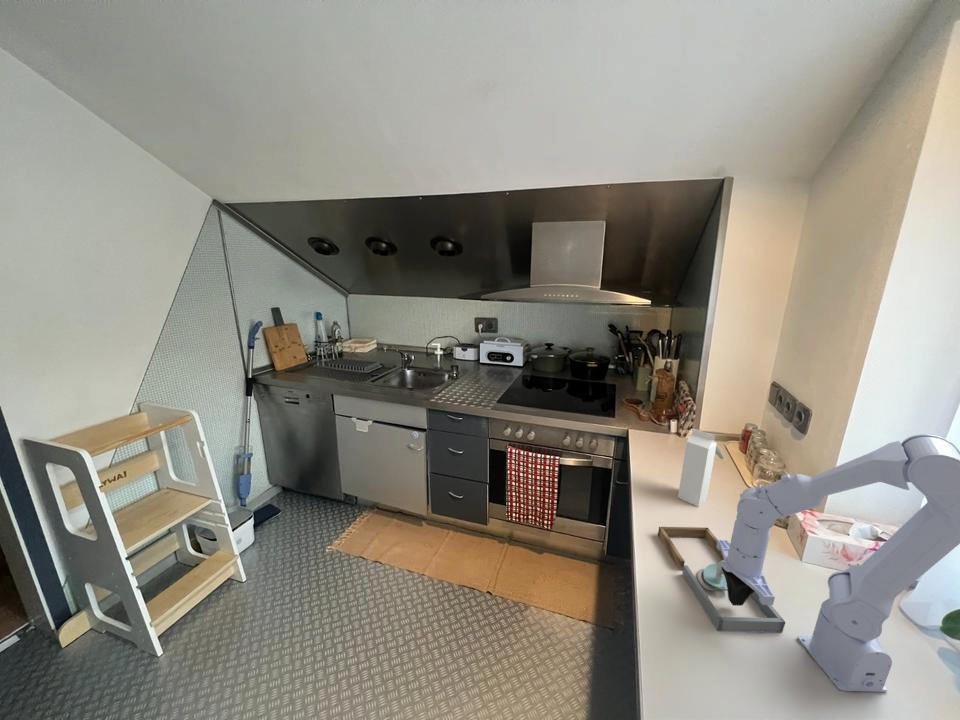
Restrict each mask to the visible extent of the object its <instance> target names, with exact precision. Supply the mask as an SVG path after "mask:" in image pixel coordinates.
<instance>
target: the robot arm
mask: <svg viewBox="0 0 960 720" xmlns="http://www.w3.org/2000/svg"><path fill="white" fill-rule="evenodd" d="M877 483H883V484H886V485H889V486H893V487H896V488H898V489H901V490H906V491H910V487H909V485H908V483H911V484H912V485H913V486H914V487H915V488H916V489H917V490H918V491H919V492H920V493H921V494H922V495H923V496H924V497H925V498H926V501H927V502H926V504H924V505H923V506H922V507H921V508H919V510H918V511H916V513H915V514H913V515H912V517H910V518H909V519H908V520H907V521H906V522H905V523H904V524H903V525H902V526H901V527H900V528H898V530H897V531H895V532H894V533H893V534H892V536H890V537H889V538H888V539H887V540H886V541H885V542H884V543H883V544H881V546H880V547H878V549H876V550H875V551H874V552H873V553H872V554H871V555H870V556H869V557H868V558H867V559H865V561H864V562H862V564H860V565H858V564H851V565H850V566H849V567H848V568H847V569H844V570H840V571H835V572H832V574H830V575H829V576H828V579H827V585H828V589H829V592H828V594H829V598H827V599H825V600H824V601H822V602H821V605H820V608H819V612H818V616H817V619H816V622H815V626H814V629H813V633H812V635H797V641H799V642H800V643H801V644H802V646H803V647H804V648H805V649H806V651H807V652H808V653H809V654H810V656H811V657H812V658H813V659H814V660H815V662H816V663H817V664H818V665H819V666H820V668H821V669H822V671H824V672H825V674H826V675H827V676H828V678H829V679H830V680H831V681H832V683H834V685H835V686H836V687H837V689H839V691H843V692H882V693H885V692H886V693H887V692H888V688H887V687H886V685H885V684H886V681H887V679H888V676H889V673H890V670H891V668H892V665H893V660H892V657H890V655H889V653H888V652H887V651H886V649H884V647H883V645H882V644H881V642H880V639H879V637H880V636H881V634H882V632H883V624H884V622H885V621H886V620H888V619H889V617H890V615H891V612H892V609H893V607H894V606H893V605H894V603H895V600H896V598H897V597H898V596H899V595H900V594H902V593H903V592H904V591H905V590H906V589H908V588H909V587H910V586H911V585H912V584H914V582H916V581H917V580H918V579H920V577H923V575H924V574H926V572H928V571H929V570H931V568H933V566H935V565H936V564H937V563H938V562H940V561H941V560H942V559H943V558H945V557H946V556H947V555H949V553H951V552H952V551H953V550H954V549H955V548H956V547H958V546H959V545H960V451H959V449H958V448H957V446H956V445H955V444H954V443H953V442H952V441H950V440H948V439H947V438H945V437H943V436H942V437H941V436H939V435H935V434H929V433H928V434H927V433H923V434H922V433H921V434H915V435H914V434H913V435H911V436H909V437H907V438H905V439H904V440H903V441H901V440H896V441H893V442H889V443H886V444H885V445H883V446H880V447H878V448H877V449H875V450H873V451H871V452H869V453H866V454H863V455H861V456H860V457H859V456H858V457H856V458H854V459H852V460H849V461H847V462H843V463H841V464H840V465H837V466H835V467H832V468H828V470H825V471H822V472H820V473H817V474H815V475H812V476H809V475H805V474H801V473H796V474H794V475H790V473H785V474H783V475H781V477H780V480H777V481H774V482H771V483H768V484H766V485H762V484H759V485H757V486H755V487H748V488H746V489H744V490H743V491H742V492H741V493H740V495H739V501H738V502H737V508H736V519H735V521H734V524H733V529H732V534H731V537H730V541H728V540H727V539H718V541H717V546H716V547H717V549H718V550H720V551H722V554H723V557H724V560H725V562H724V561H723V562H722V563H721V566H722V571H723V573H724V575H725V579H726V583H725V584H726V585H727V589H728V591H727V596H728V601H729V602H730V603H731V605H732V606H738V607H740V606H743V605H744V603H745V602H746V601H747V600H748V598H749V597H751V596H750V595H751V594H752V593H753V592H756V593H757V594H758V596H759V597H760V598H759V601H760V602H761V604H762V605H772V606H774V602H775V598H776V596H775V594H774V593H773V592H772V590H771V589H770V585H769V584H768V581H767V579H766V576H765V575H764V572H763V566H764V562H765V559H766V554H767V550H768V546H769V542H770V537H771V530H770V529H771V528H773V527H774V525H775V524H776V521H777V519H780V518H785V517H788V516H793V515H794V514H795V515H796V514H798V513H801V512H806V511H808V510H811V509H814V508H817V507H821V506H822V505H823V501H824V498H825V497H826V496H830V495H834V494H838V493H842V492H846V491H849V490H850V491H851V490H853V489H858V488H861V487H865V486H870V485H874V484H877Z"/></svg>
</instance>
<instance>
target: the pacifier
mask: <svg viewBox="0 0 960 720" xmlns="http://www.w3.org/2000/svg"><path fill="white" fill-rule="evenodd" d="M723 561H724V560H722V559H721V560H720V561H719V562H718V563H711V564H708V565H706V567H704V568H701V569H699V570H698V571H697V576H696V577H697V578H696V579H697V581H698V582H699V584H700V585H701V587H702V588H703V589H705V590H707V591H711V592H712V591H719V590H722V591H726V592H728V589H727V583H726V579H725V575H724V573H723V571H722V566H721V563H722V562H723ZM724 562H725V561H724ZM702 575H703V578H702ZM703 579H704V580H703Z"/></svg>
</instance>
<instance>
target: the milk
mask: <svg viewBox="0 0 960 720" xmlns="http://www.w3.org/2000/svg"><path fill="white" fill-rule="evenodd" d="M691 430H692V431H691V434H690V435H689V437H688V438H687V440H686V444H685V449H684V450H685V451H684V456H683V463H682V470H681V477H680V481H679V488H678V489H679V490H678V495H677V499H679V498H680V500H681V499H682V501H684V502H686V503H689V504H690V505H692V504H693V505H692V506H694V505H695V507H697V508H699V507H700V506H701V505H703V503H705V501H706V500H707V499H708V495H709V494H708V493H709V488H710V483H711V479H712V478H711V477H712V472H713V467H714V466H713V465H714V461H715V455H716V450H717V449H716V448H717V444H718V443H717V442H716V441H715V437H716V436H715V435H714V434H711V433H708V432H705V431H701V430H698V429H696V428H693V429H691ZM707 501H708V500H707Z"/></svg>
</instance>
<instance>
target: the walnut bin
mask: <svg viewBox="0 0 960 720" xmlns="http://www.w3.org/2000/svg"><path fill="white" fill-rule="evenodd" d="M657 536H658V538H659V539H660V541H661V543H662V544H663V546H664V548H665V549H666V550H667V552H668V554H669V556H670V557H671V559H672V560H673V562H674V563H675V566H677V568H678V570H679V571H683V568H684V565H685V559H683V557H682V555H681V553H680V551H679V550H678V549H677V547H676V546H675V544H674V543H673V542H672V539H671V538H683V539H684V538H688V539H689V538H690V539H705V541H706V542H707V543H708V544H709V545H710V547H711V548H712V549H713V550H714V552H715V553H716V554H717V555H718V557H719V558H720V559H721V560H724V557H723V554H722V551H720V550H718V549H717V547H716V546H717V541H718V540H719V538H717V537H716V536H715V535H714V533H713V532H712V531H711V530H710V529H709V527H700V526H699V527H695V526H694V527H692V526H688V527H686V526H683V527H682V526H681V527H680V526H659V527H658V531H657ZM724 561H725V560H724Z"/></svg>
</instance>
